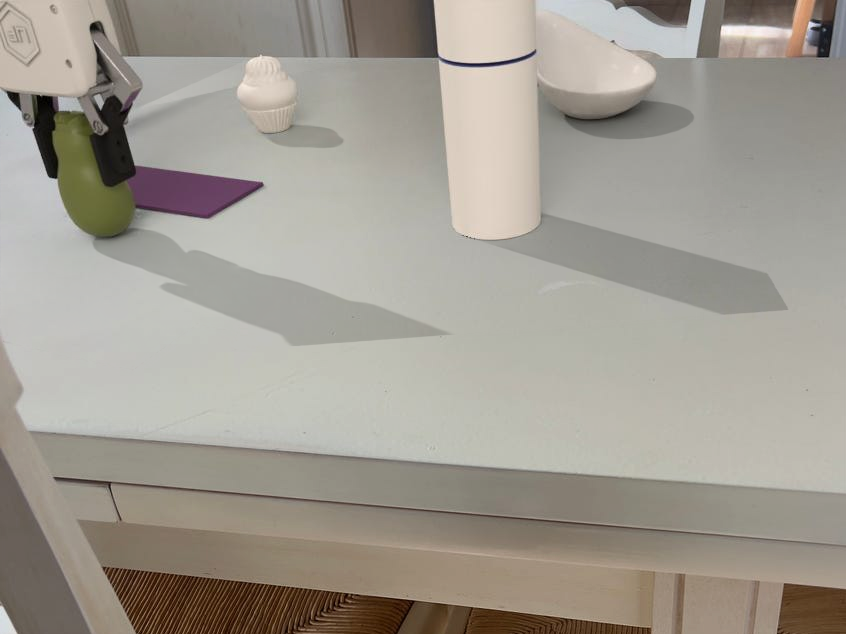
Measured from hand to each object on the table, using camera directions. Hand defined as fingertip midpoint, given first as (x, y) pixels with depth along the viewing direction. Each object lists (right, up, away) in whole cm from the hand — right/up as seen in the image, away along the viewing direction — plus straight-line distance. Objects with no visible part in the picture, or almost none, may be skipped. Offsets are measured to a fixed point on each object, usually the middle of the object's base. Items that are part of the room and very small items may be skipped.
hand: (92, 174), depth 82 cm
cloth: (+3, +2, +10) cm, 11 cm away
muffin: (+10, +13, +23) cm, 28 cm away
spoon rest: (+40, +17, +24) cm, 50 cm away
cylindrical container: (+33, -4, 0) cm, 33 cm away
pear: (0, -4, +3) cm, 5 cm away
